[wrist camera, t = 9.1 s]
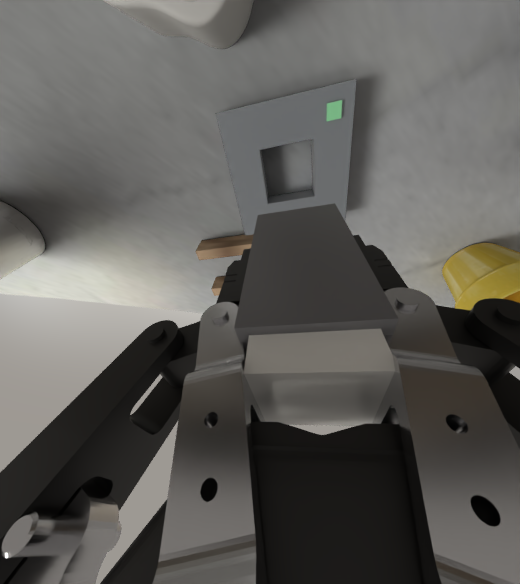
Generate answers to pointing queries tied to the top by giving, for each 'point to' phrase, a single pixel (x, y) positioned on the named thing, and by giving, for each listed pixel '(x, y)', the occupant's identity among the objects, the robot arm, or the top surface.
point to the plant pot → (483, 274)
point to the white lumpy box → (191, 18)
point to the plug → (313, 321)
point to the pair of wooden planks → (223, 252)
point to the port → (285, 130)
